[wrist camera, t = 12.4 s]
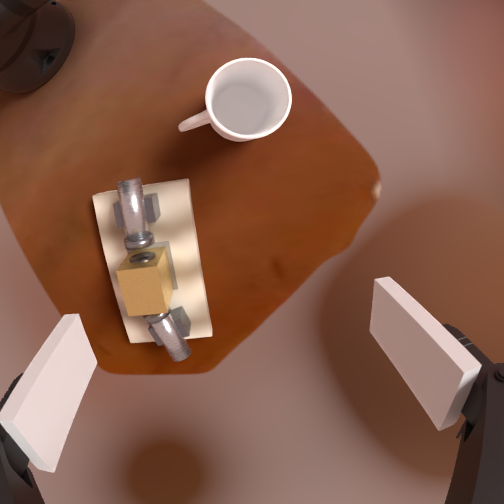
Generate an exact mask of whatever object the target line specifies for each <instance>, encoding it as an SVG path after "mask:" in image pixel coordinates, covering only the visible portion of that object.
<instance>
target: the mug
mask: <svg viewBox="0 0 504 504" xmlns="http://www.w3.org/2000/svg"><path fill="white" fill-rule="evenodd" d="M205 102H206V108H207V109H206V110H205V111H203V112H201V113H199V114H197V115H195V116H193V117H190V118H188V119H187V120H185V121H183V122H182V123H180V124H179V125H178V128H179V130H180V131H181V132H183V131H187V130H191V129H194V128H197V127H199V126H202V125H205V124H208V123H210V124H211V126H212V127H213V129H214V130H215V131H216V132H217V133H218V134H219V135H221V136H222V137H224V138H226V139H229V140H232V141H239V142H242V141H249V140H252V139H255V138H260V137H263V136H266V135H268V134H270V133H272V132H274V131H275V130H276V129H278V128H279V127H280V126H281V125H282V123H283V122H284V121H285V119H286V118H287V116H288V114H289V111H290V107H291V90H290V87H289V84H288V82H287V80H286V78H285V77H284V75H283V74H282V73H281V72H280V71H279V70H278V69H277V68H276V67H275V66H273V65H271V64H270V63H268V62H266V61H263V60H260V59H255V58H241V59H236V60H233V61H231V62H228V63H226V64H225V65H223V66H222V67H220V68H219V69H218V70H217V71H216V72H215V73H214V74H213V76H212V77H211V79H210V81H209V83H208V85H207V89H206V94H205Z"/></svg>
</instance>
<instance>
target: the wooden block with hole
mask: <svg viewBox="0 0 504 504" xmlns="http://www.w3.org/2000/svg"><path fill="white" fill-rule="evenodd" d="M116 273H117V277H118V281H119V285H120V288H121V292H122V296H123V299H124V303H125V306H126V309H127V313H128V316H139V315H150V314H161V313H168V309H169V305H170V301H171V297H172V294H173V290H174V284H173V279H172V274H171V269H170V264H169V259H168V254H167V249H166V246H163V247H155V248H147V249H140V250H133V251H130V252H129V254H128V255H127V256H126V258H125V259H124V261H123V262H122V263H121V265H120V266H119V268H118V269H117V270H116Z"/></svg>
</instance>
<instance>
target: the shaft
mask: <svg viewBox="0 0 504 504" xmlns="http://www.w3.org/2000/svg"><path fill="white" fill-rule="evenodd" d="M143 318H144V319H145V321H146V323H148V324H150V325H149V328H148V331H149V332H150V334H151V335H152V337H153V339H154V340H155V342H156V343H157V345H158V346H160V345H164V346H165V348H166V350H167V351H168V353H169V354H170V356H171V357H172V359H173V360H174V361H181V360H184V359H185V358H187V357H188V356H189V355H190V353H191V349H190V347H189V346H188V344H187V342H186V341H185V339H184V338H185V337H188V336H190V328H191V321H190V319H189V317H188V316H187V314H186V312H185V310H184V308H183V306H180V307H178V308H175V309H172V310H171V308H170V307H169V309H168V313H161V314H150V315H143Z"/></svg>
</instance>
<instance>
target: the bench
mask: <svg viewBox="0 0 504 504" xmlns="http://www.w3.org/2000/svg"><path fill="white" fill-rule="evenodd" d="M142 188H143V195H144V194H151V193H157V194H158V200H159V207H160V213H161V216H160V217H159V219H158V220H157V221H156V222H153V223H148V224H149V230H150V232H152V233H153V234H154V239H155V243H154V244H153V245H151V246H149V247H147V248H155V247H163V246H166V249H167V254H168V259H169V264H170V269H171V274H172V279H173V284H174V290H173V294H172V297H171V301H170V305H169V307H170V308H171V310H172V309H175V308H178V307H180V306H183V308H184V310H185V312H186V314H187V316H188V317H189V319H190V321H191V328H190V336H188V337H185V338H184V339H190V338H200V337H210V336H212V325H211V320H210V314H209V309H208V303H207V298H206V292H205V286H204V280H203V274H202V268H201V262H200V255H199V249H198V242H197V236H196V229H195V222H194V215H193V208H192V201H191V193H190V186H189V178H188V179H181V180H174V181H167V182H160V183H154V184H148V185H142ZM118 200H119V197H118V191H117V190H113V191H108V192H103V193H98V194H96V195H94V196H93V201H94V207H95V212H96V217H97V222H98V227H99V231H100V236H101V240H102V245H103V249H104V253H105V257H106V261H107V265H108V269H109V273H110V277H111V281H112V284H113V288H114V291H115V295H116V298H117V302H118V305H119V309H120V312H121V315H122V318H123V321H124V325H125V328H126V331H127V334H128V337H129V340H130V343H140V342H154V341H155V340H154V339H153V337H152V335H151V334H150V332H149V331H148V328H149V325H150V324H148V323H146V321H145V319H144V318H143V315H139V316H128V313H127V309H126V306H125V303H124V299H123V296H122V292H121V288H120V285H119V281H118V277H117V273H116V270H117V269H118V268H119V266H120V265H121V263H122V262H123V261H124V259H125V258H126V256H127V255H128V254H129V252H130V251H133V250H126V249H125V245H124V239H125V238H126V234H125V229H124V227H119V228H117V224H116V219H115V214H114V209H113V203H115V202H116V201H118ZM147 248H143V249H147ZM139 250H140V249H139Z"/></svg>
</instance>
